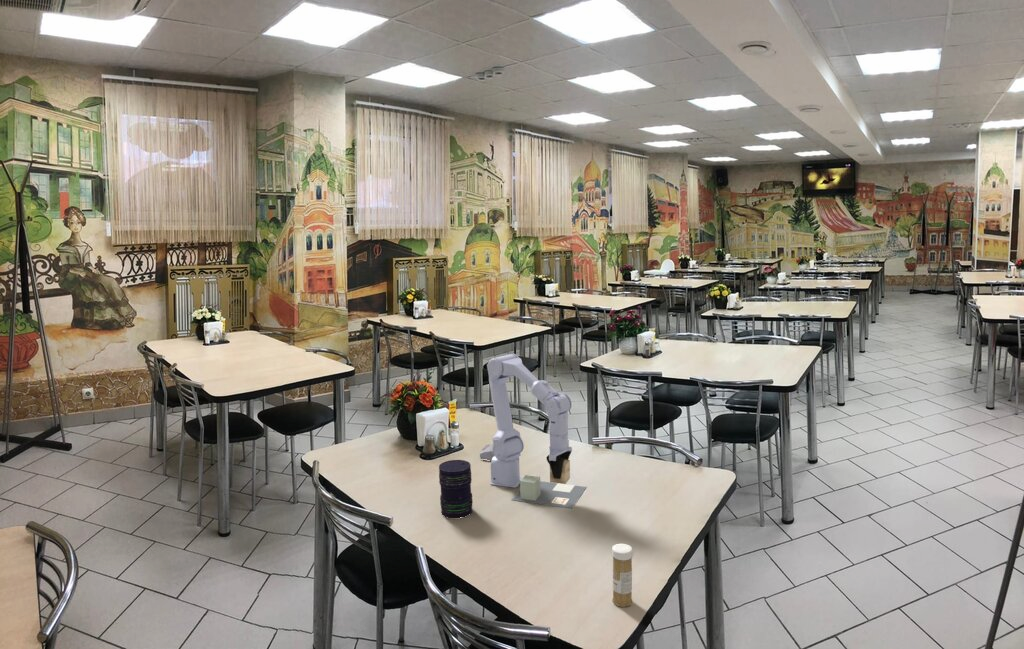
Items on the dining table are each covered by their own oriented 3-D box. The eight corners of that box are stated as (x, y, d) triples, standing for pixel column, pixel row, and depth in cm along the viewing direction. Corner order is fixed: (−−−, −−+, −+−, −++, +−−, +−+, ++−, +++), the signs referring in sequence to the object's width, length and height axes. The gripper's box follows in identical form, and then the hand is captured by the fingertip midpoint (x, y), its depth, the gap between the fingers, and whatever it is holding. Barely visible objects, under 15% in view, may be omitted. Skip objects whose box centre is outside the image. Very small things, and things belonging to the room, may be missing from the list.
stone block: (479, 466, 240) (505, 461, 238) (476, 453, 240) (502, 449, 238) (486, 455, 252) (511, 451, 250) (483, 444, 251) (508, 440, 249)
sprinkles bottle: (609, 598, 149) (609, 544, 147) (628, 595, 150) (628, 541, 148) (616, 609, 145) (616, 553, 143) (635, 606, 146) (635, 551, 143)
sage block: (520, 498, 205) (520, 481, 204) (526, 492, 209) (525, 475, 208) (535, 500, 203) (534, 482, 202) (540, 494, 207) (540, 477, 207)
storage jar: (447, 521, 191) (445, 474, 188) (436, 509, 199) (433, 463, 197) (478, 514, 195) (476, 467, 193) (465, 502, 204) (463, 457, 202)
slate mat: (511, 500, 204) (511, 499, 204) (529, 480, 220) (529, 479, 220) (571, 508, 197) (571, 508, 197) (586, 487, 213) (586, 486, 212)
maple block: (550, 482, 200) (549, 463, 199) (555, 476, 205) (554, 458, 204) (565, 484, 198) (565, 465, 197) (570, 478, 203) (569, 459, 202)
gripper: (564, 442, 191) (565, 485, 193) (577, 427, 204) (578, 468, 206) (542, 439, 194) (543, 482, 196) (556, 425, 207) (557, 465, 209)
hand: (559, 474), depth 201 cm, fingers closed on maple block, 5 cm apart
